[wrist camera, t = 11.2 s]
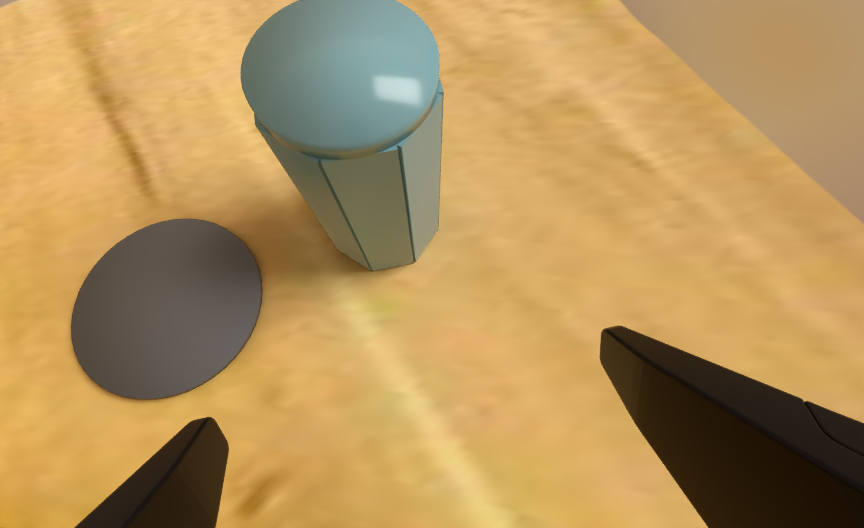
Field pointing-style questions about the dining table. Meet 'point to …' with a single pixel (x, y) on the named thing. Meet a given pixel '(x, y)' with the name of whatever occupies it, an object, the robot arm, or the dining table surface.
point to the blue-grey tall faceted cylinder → (354, 120)
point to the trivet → (166, 309)
